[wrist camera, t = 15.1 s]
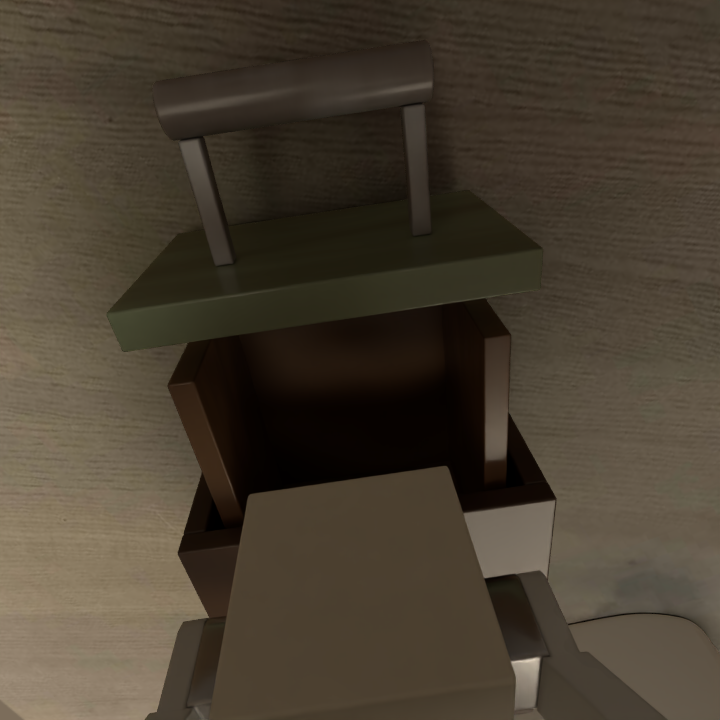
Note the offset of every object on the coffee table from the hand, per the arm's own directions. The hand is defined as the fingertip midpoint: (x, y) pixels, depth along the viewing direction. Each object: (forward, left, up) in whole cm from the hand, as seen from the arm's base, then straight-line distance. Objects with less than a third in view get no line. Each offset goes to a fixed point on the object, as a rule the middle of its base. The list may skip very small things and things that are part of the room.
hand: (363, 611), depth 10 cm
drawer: (-1, -1, -13) cm, 13 cm away
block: (0, 0, -2) cm, 2 cm away
